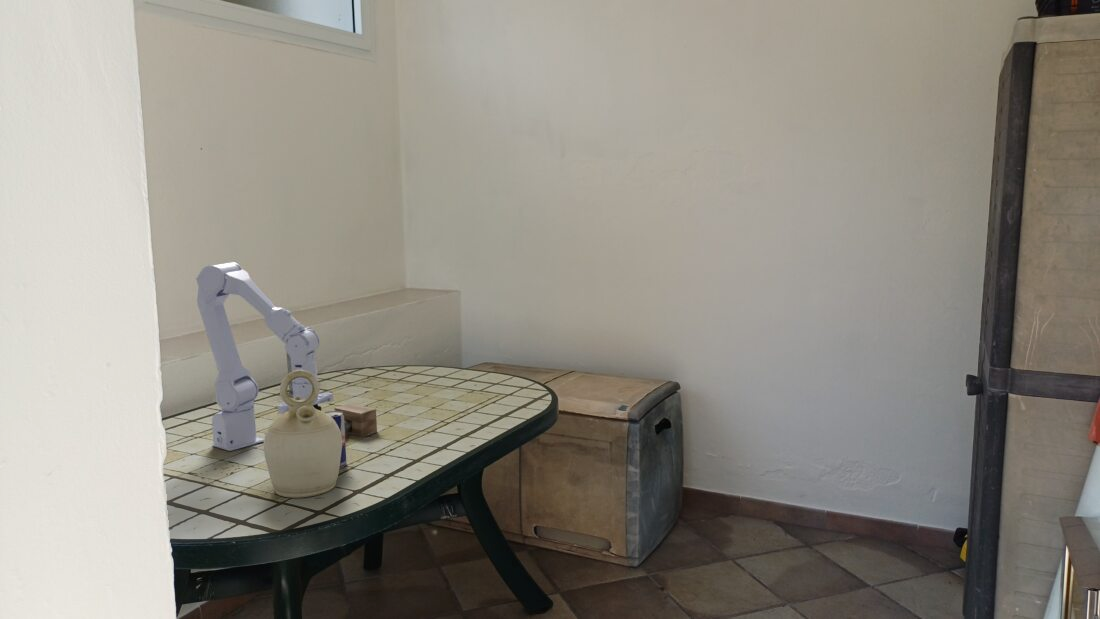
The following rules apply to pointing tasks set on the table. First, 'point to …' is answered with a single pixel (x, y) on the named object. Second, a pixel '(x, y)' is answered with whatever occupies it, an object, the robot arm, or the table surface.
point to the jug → (302, 445)
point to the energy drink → (340, 422)
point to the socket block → (359, 419)
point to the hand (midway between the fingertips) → (308, 436)
